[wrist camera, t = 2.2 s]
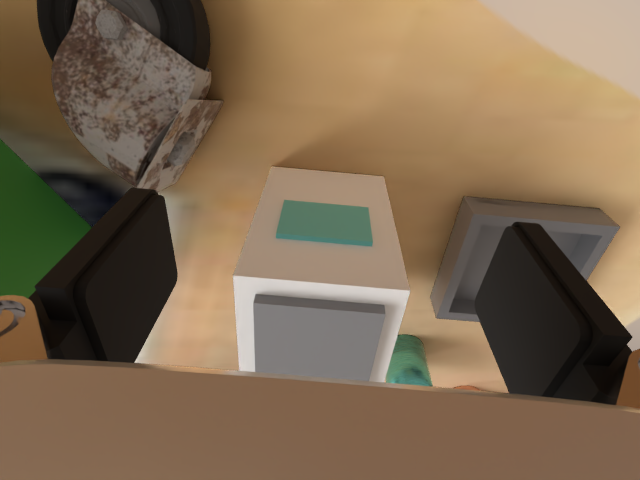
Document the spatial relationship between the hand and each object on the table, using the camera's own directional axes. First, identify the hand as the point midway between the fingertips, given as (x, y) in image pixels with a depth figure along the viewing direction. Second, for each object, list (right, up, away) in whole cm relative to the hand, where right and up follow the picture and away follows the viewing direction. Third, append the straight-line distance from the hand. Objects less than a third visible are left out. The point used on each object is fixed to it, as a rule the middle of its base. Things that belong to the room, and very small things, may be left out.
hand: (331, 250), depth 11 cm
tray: (+15, -1, +20) cm, 25 cm away
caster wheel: (-11, +11, +13) cm, 20 cm away
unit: (0, +1, +19) cm, 19 cm away
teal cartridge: (+8, -10, +27) cm, 30 cm away
